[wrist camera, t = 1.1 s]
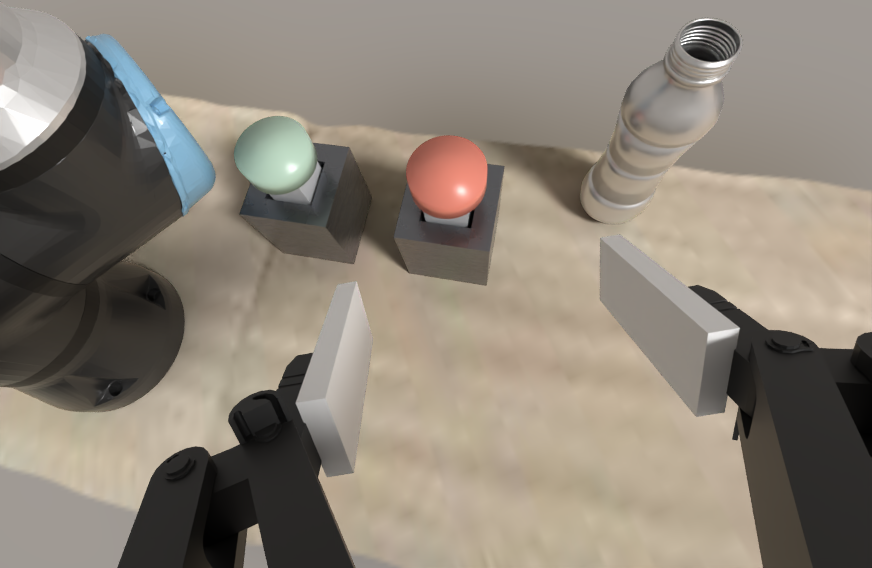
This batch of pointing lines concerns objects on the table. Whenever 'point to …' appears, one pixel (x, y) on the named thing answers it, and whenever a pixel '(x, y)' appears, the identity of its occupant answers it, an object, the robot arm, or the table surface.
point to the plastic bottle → (661, 120)
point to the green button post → (317, 211)
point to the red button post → (451, 238)
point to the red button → (447, 180)
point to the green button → (279, 159)
